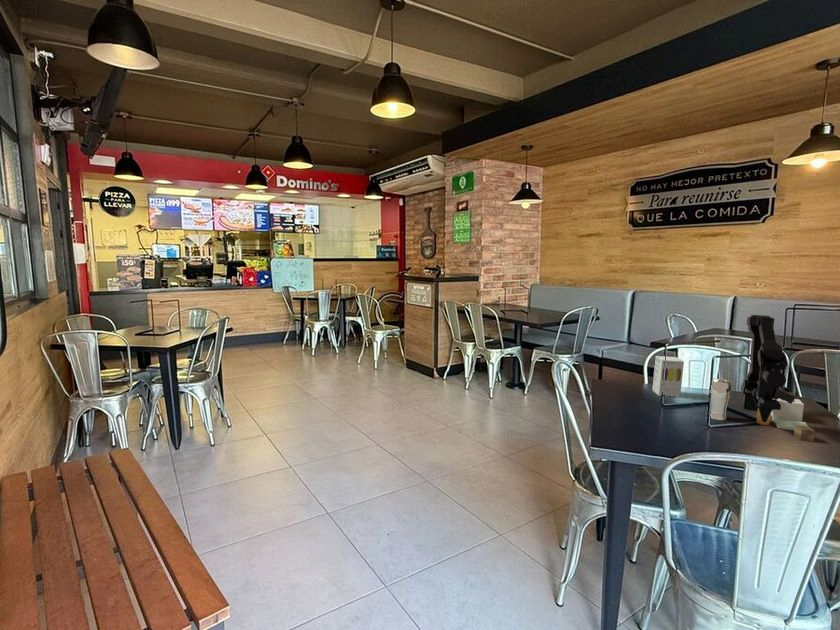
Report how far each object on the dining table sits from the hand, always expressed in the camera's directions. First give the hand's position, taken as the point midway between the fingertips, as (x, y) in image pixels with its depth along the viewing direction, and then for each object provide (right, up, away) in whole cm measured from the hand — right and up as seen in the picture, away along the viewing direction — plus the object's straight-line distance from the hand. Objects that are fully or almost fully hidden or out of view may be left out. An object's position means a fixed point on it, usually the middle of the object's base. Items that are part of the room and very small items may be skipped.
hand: (763, 420), depth 175 cm
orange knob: (0, -1, 0) cm, 1 cm away
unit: (+14, 0, +7) cm, 16 cm away
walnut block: (+3, -3, -14) cm, 15 cm away
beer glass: (-14, -1, +6) cm, 15 cm away
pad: (+9, -2, -2) cm, 9 cm away
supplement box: (-18, +4, +36) cm, 40 cm away
